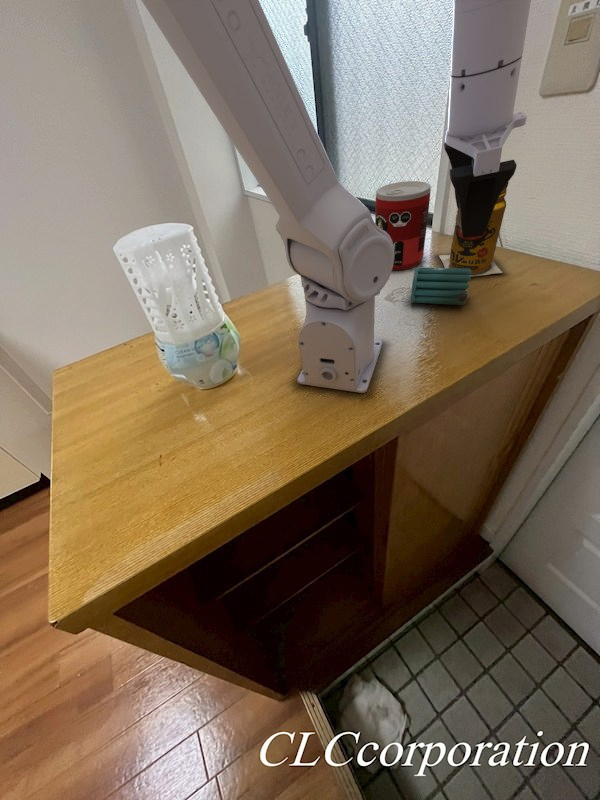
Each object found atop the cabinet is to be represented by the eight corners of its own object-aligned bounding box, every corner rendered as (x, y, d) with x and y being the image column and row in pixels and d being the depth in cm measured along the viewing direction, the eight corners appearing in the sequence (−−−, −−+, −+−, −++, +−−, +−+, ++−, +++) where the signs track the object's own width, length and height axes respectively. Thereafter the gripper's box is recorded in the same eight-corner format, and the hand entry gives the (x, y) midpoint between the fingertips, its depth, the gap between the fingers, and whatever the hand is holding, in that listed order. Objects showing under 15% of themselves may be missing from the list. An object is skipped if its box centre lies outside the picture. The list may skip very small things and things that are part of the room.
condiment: (450, 279, 52) (466, 189, 43) (438, 256, 58) (450, 173, 49) (502, 274, 50) (528, 180, 42) (484, 251, 56) (504, 166, 48)
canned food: (366, 261, 60) (365, 190, 53) (403, 248, 62) (408, 178, 54) (392, 275, 55) (396, 199, 47) (432, 261, 57) (442, 185, 49)
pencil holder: (408, 312, 47) (411, 280, 43) (415, 289, 51) (418, 258, 48) (463, 315, 44) (471, 282, 41) (465, 291, 48) (472, 259, 45)
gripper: (559, 65, 25) (520, 244, 35) (520, 38, 34) (497, 187, 44) (454, 95, 27) (445, 255, 37) (443, 62, 36) (438, 199, 46)
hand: (469, 219), depth 41 cm, fingers open, 7 cm apart
